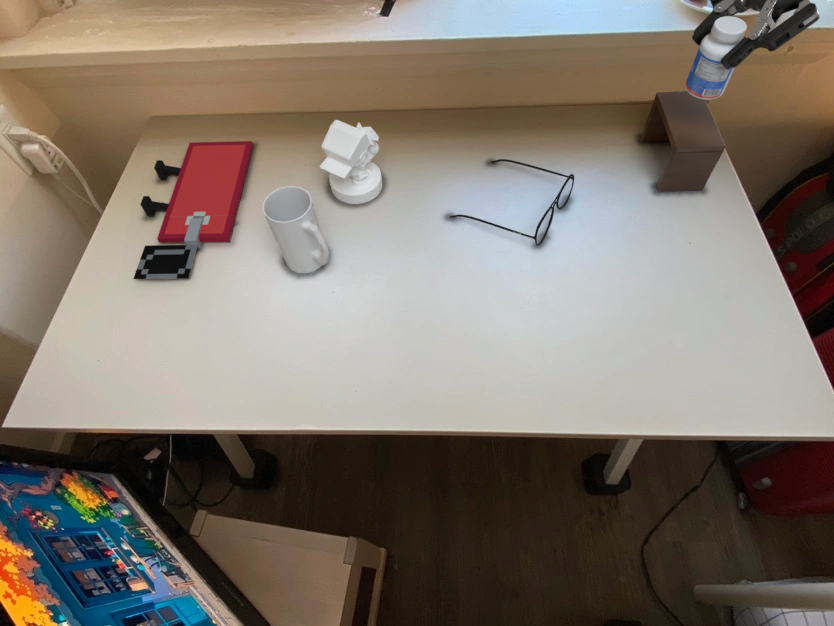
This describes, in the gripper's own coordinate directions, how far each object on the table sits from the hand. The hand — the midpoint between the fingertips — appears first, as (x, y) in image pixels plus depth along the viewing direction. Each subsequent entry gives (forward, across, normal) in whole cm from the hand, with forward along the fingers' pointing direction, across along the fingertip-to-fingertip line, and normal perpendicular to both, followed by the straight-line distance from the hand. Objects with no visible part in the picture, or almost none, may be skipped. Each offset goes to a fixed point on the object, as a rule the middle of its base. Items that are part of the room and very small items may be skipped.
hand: (709, 53), depth 75 cm
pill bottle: (+3, 0, +6) cm, 7 cm away
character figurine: (+48, -17, -20) cm, 55 cm away
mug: (+56, -5, -28) cm, 63 cm away
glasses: (+33, -3, -4) cm, 33 cm away
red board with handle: (+67, -24, -38) cm, 81 cm away
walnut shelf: (+13, 0, +15) cm, 20 cm away
